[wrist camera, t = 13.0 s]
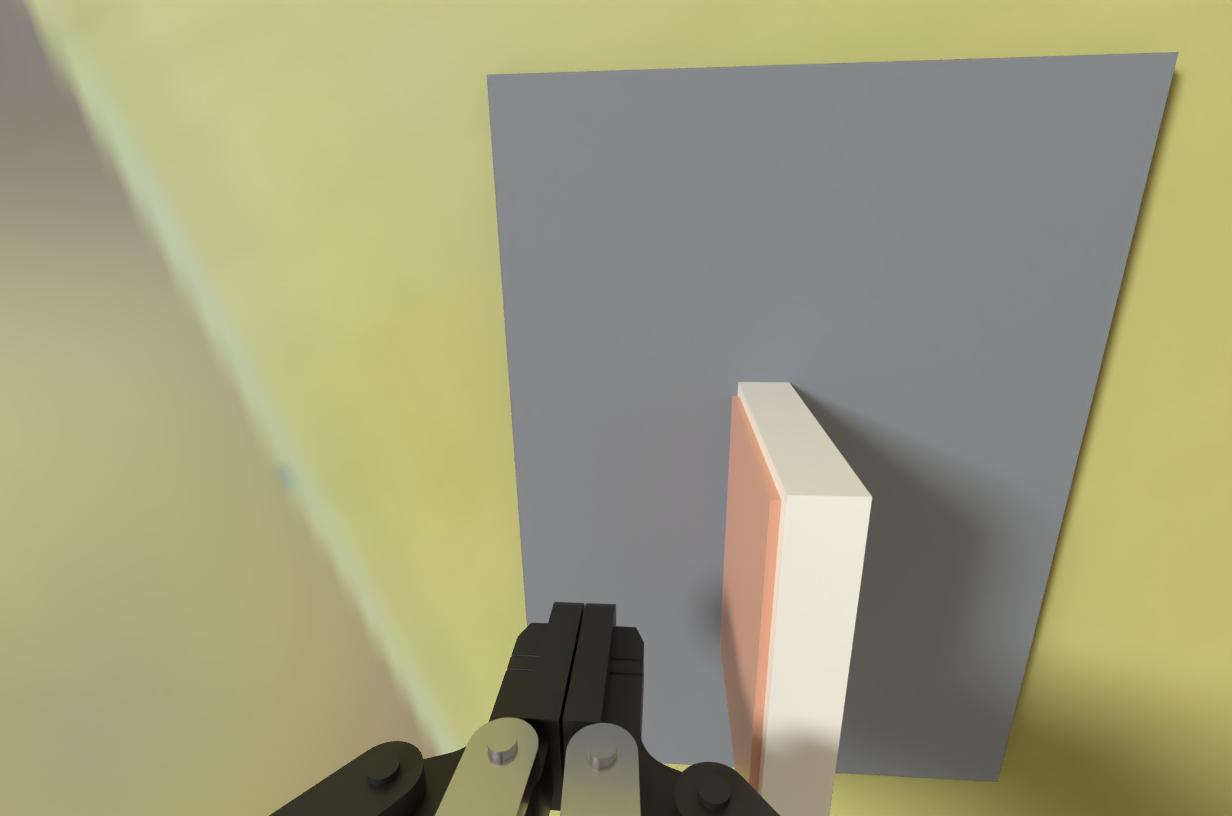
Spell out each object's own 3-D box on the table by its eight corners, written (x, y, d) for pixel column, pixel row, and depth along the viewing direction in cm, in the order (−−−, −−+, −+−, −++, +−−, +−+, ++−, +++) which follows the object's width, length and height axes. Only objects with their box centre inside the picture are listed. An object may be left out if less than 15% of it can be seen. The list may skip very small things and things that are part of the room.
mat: (493, 80, 15) (486, 74, 15) (1157, 58, 14) (1178, 51, 14) (539, 742, 22) (536, 756, 22) (988, 766, 21) (997, 781, 20)
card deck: (731, 381, 17) (775, 494, 10) (789, 382, 17) (872, 496, 10) (718, 646, 20) (746, 869, 13) (767, 648, 19) (821, 874, 13)
